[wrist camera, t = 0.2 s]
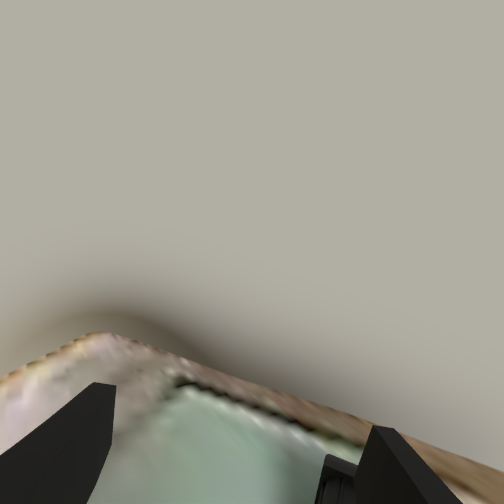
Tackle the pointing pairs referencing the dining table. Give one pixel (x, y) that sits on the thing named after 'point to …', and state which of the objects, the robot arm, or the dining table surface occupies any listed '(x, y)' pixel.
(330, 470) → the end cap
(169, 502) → the dining table surface
